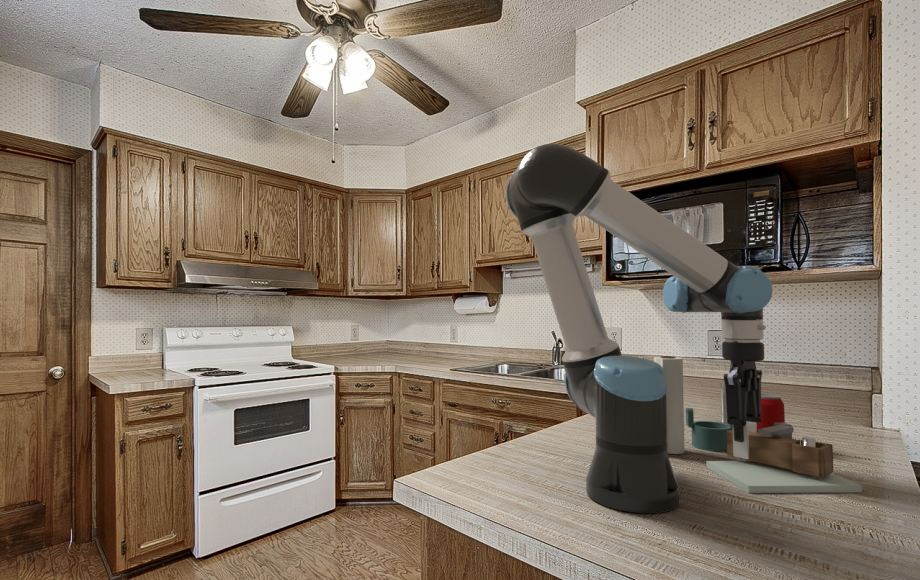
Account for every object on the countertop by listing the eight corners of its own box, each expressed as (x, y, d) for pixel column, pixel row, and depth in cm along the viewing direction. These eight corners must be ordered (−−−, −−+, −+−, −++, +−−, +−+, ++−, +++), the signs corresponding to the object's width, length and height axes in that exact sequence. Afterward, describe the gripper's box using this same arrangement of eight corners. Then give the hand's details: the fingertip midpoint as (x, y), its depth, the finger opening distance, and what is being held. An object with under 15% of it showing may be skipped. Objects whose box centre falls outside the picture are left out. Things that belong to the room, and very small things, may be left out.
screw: (715, 428, 130) (735, 431, 127) (713, 432, 125) (735, 435, 123) (713, 380, 130) (734, 381, 128) (712, 382, 126) (733, 384, 124)
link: (725, 456, 99) (724, 432, 99) (736, 451, 102) (735, 427, 102) (824, 478, 86) (823, 449, 86) (833, 471, 89) (832, 444, 89)
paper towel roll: (671, 446, 113) (669, 355, 114) (690, 453, 107) (688, 357, 108) (645, 449, 111) (644, 356, 112) (664, 456, 105) (662, 358, 106)
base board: (748, 492, 84) (748, 485, 84) (706, 466, 98) (706, 461, 98) (861, 492, 84) (861, 485, 84) (803, 466, 98) (803, 460, 98)
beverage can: (790, 448, 111) (789, 396, 112) (777, 453, 108) (776, 399, 108) (759, 441, 117) (758, 392, 117) (745, 446, 113) (744, 394, 114)
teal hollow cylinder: (740, 448, 111) (739, 409, 112) (716, 454, 107) (715, 413, 107) (703, 440, 119) (702, 403, 120) (680, 445, 114) (679, 407, 115)
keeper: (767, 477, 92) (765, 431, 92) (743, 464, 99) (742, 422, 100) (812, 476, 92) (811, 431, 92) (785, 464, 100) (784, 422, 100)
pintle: (808, 476, 89) (807, 440, 89) (800, 472, 91) (799, 437, 91) (819, 476, 89) (817, 439, 89) (811, 472, 91) (809, 437, 91)
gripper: (745, 343, 91) (749, 468, 90) (777, 340, 102) (781, 452, 101) (705, 341, 97) (708, 458, 96) (739, 338, 107) (742, 444, 106)
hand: (745, 455), depth 98 cm, fingers closed on link, 3 cm apart
